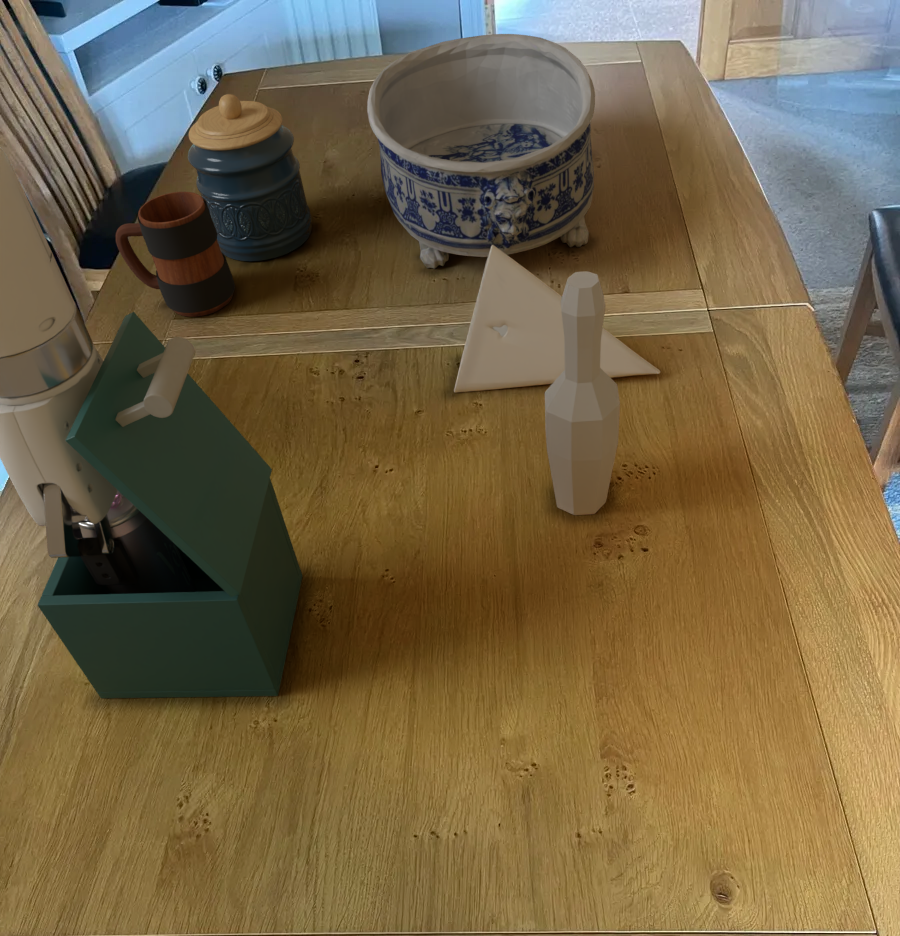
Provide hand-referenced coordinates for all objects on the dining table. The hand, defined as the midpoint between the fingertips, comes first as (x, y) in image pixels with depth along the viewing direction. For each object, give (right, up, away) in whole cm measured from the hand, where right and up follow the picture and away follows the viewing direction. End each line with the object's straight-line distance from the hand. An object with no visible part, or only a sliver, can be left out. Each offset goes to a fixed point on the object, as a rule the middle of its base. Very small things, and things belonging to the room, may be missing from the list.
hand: (130, 547), depth 71 cm
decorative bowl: (+29, +46, +50) cm, 74 cm away
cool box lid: (+6, +6, -7) cm, 11 cm away
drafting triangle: (+35, +21, +28) cm, 50 cm away
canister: (0, +43, +51) cm, 67 cm away
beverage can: (+1, -7, +8) cm, 10 cm away
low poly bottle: (+36, +5, +14) cm, 39 cm away
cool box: (+4, -7, +8) cm, 11 cm away
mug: (-8, +32, +43) cm, 54 cm away
